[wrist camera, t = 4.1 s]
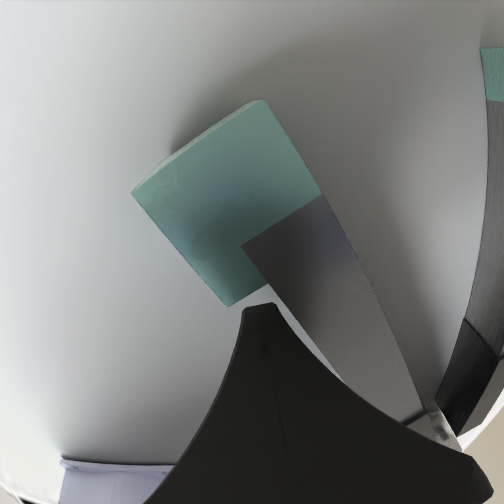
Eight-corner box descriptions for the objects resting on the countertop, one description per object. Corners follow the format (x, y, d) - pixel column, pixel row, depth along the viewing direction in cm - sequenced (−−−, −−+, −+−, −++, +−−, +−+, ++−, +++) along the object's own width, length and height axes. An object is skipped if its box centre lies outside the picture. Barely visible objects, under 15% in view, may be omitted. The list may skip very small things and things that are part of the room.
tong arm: (442, 418, 16) (462, 453, 13) (390, 449, 17) (405, 486, 14) (296, 74, 7) (344, 56, 4) (160, 163, 8) (124, 199, 5)
